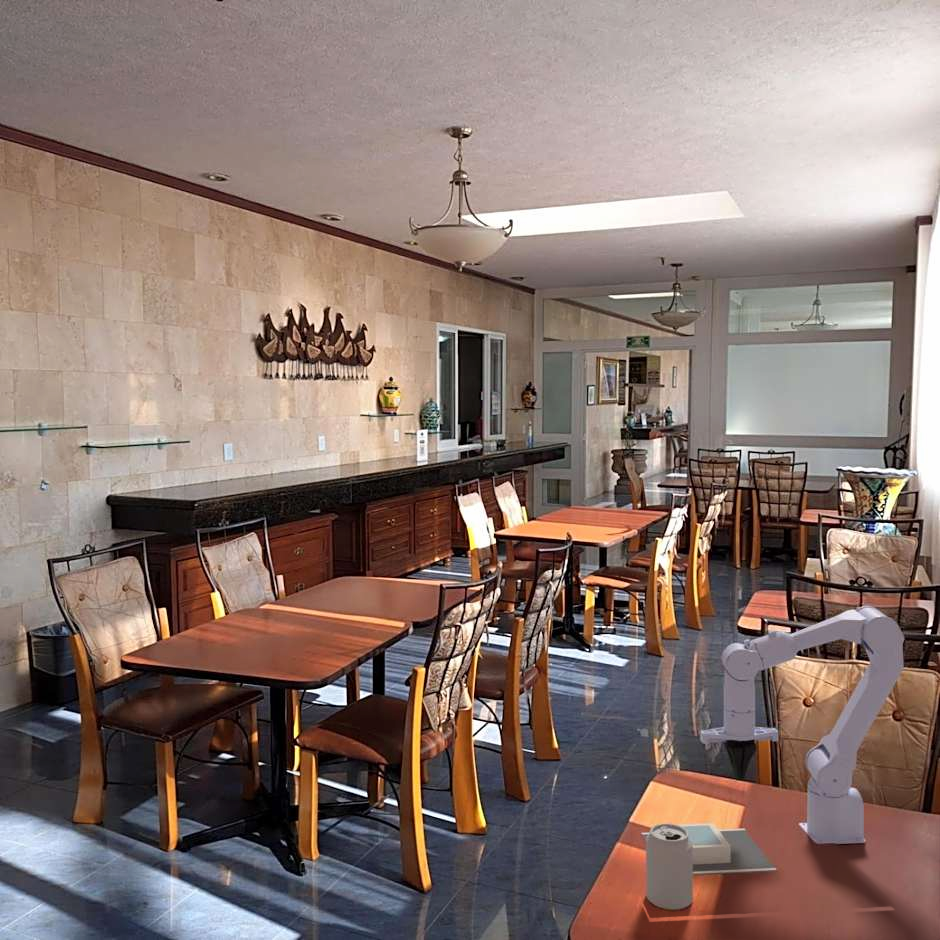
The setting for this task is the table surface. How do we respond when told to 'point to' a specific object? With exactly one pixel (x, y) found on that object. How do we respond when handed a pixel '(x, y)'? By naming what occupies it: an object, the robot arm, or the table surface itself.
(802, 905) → the table surface
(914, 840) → the table surface
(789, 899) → the table surface
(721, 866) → the mat
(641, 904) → the table surface
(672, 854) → the can
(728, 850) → the white rectangular block
